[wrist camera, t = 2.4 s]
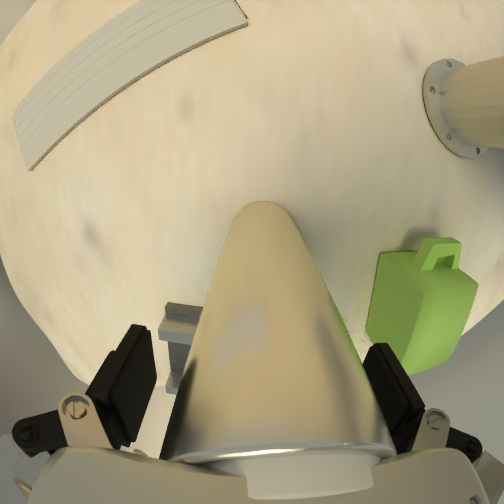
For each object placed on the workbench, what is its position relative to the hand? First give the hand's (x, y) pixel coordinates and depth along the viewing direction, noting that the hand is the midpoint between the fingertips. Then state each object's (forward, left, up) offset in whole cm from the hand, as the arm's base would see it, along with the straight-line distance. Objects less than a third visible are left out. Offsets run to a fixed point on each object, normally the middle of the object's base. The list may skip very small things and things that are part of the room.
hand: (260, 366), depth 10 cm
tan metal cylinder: (0, 0, -18) cm, 18 cm away
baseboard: (+20, -19, -19) cm, 33 cm away
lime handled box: (-19, +6, -19) cm, 27 cm away
